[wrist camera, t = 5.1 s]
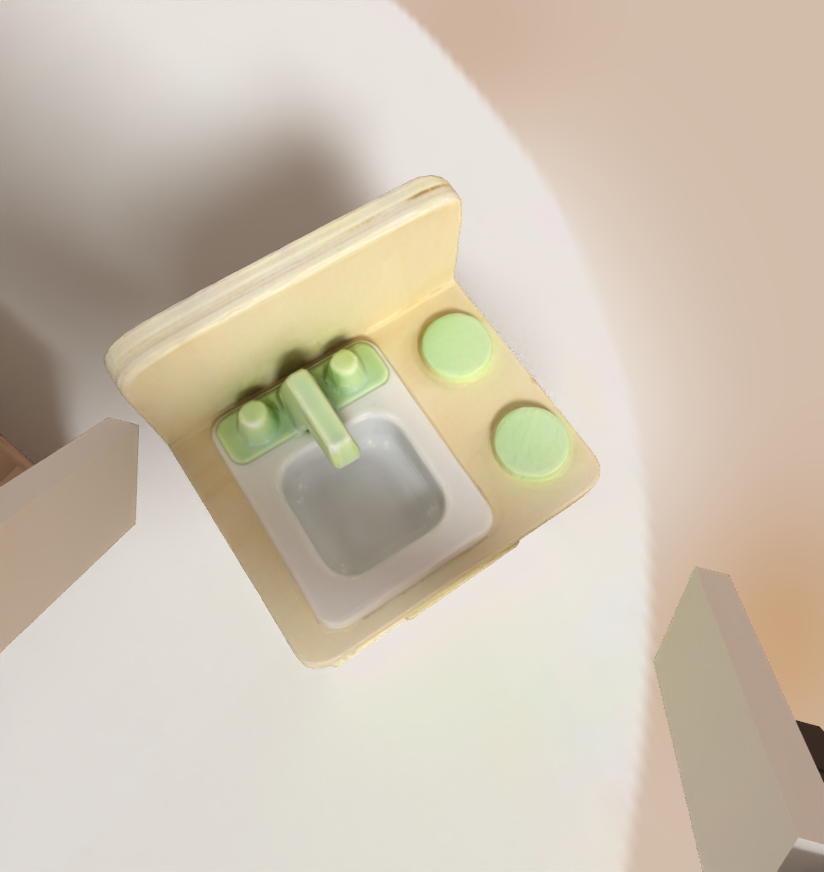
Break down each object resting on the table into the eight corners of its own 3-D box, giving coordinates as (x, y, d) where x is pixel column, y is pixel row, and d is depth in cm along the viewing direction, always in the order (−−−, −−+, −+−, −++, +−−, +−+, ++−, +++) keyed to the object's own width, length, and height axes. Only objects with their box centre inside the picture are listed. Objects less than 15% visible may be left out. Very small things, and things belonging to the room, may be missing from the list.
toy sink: (339, 690, 23) (283, 681, 11) (232, 513, 26) (85, 344, 13) (538, 549, 25) (675, 411, 13) (424, 395, 27) (450, 151, 15)
